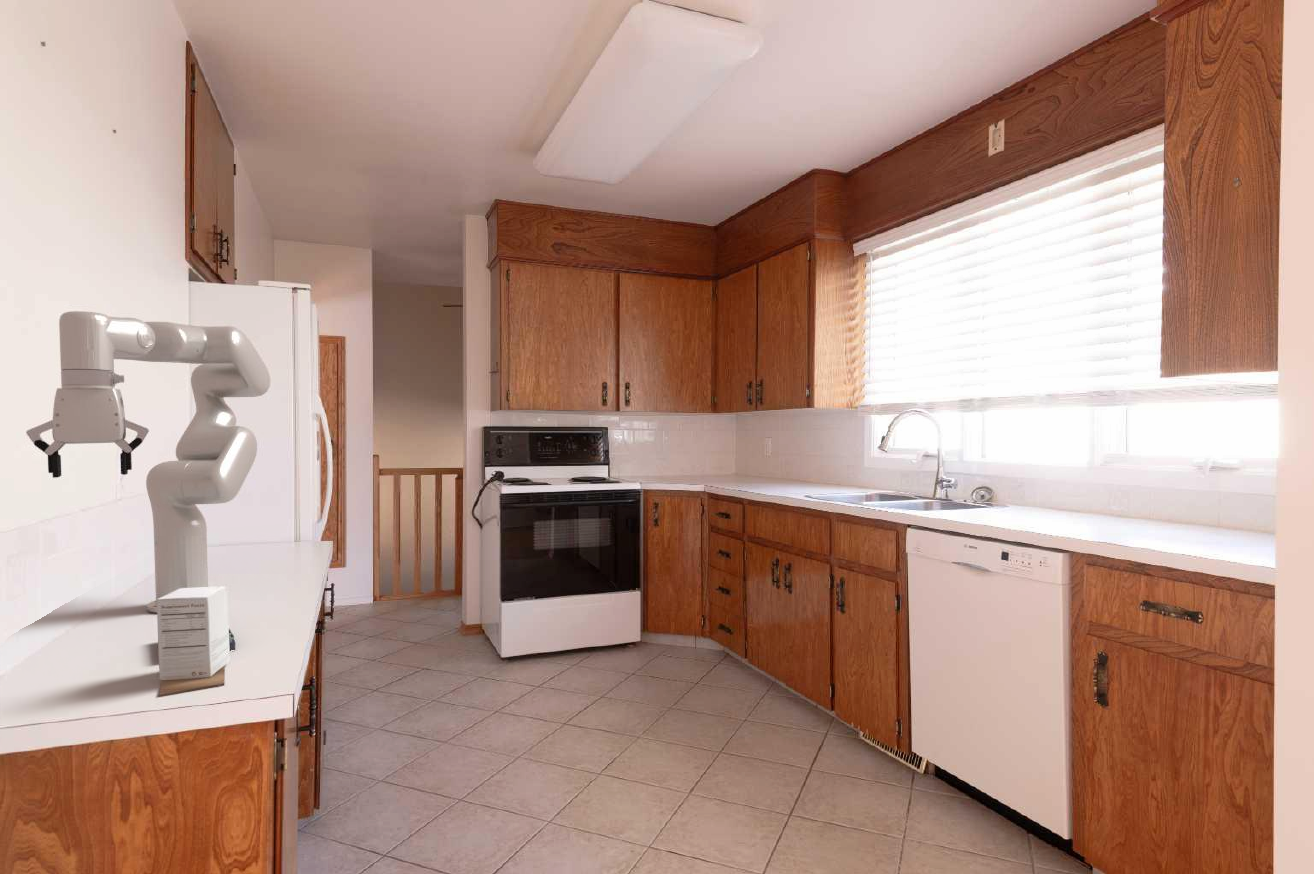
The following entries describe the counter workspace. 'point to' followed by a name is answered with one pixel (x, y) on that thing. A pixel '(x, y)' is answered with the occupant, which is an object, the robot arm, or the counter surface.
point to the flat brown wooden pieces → (192, 683)
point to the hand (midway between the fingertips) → (91, 475)
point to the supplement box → (193, 632)
